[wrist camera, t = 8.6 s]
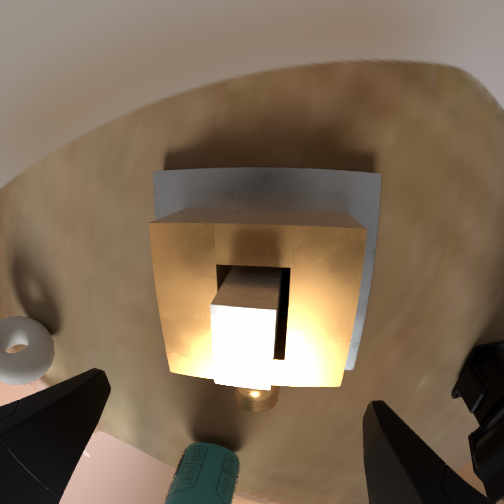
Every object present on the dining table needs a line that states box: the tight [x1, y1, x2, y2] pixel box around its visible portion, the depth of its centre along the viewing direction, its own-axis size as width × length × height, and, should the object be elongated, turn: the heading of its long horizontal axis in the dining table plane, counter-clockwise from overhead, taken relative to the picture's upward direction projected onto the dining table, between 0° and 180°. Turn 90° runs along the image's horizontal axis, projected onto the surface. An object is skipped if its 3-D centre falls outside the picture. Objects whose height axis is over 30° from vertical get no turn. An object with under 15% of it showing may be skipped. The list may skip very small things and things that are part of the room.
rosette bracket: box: [149, 167, 381, 412], centre depth 16 cm, size 14×15×6 cm
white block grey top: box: [210, 265, 283, 390], centre depth 15 cm, size 2×4×9 cm, turn 179°
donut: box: [0, 316, 55, 385], centre depth 20 cm, size 10×4×10 cm, turn 77°
